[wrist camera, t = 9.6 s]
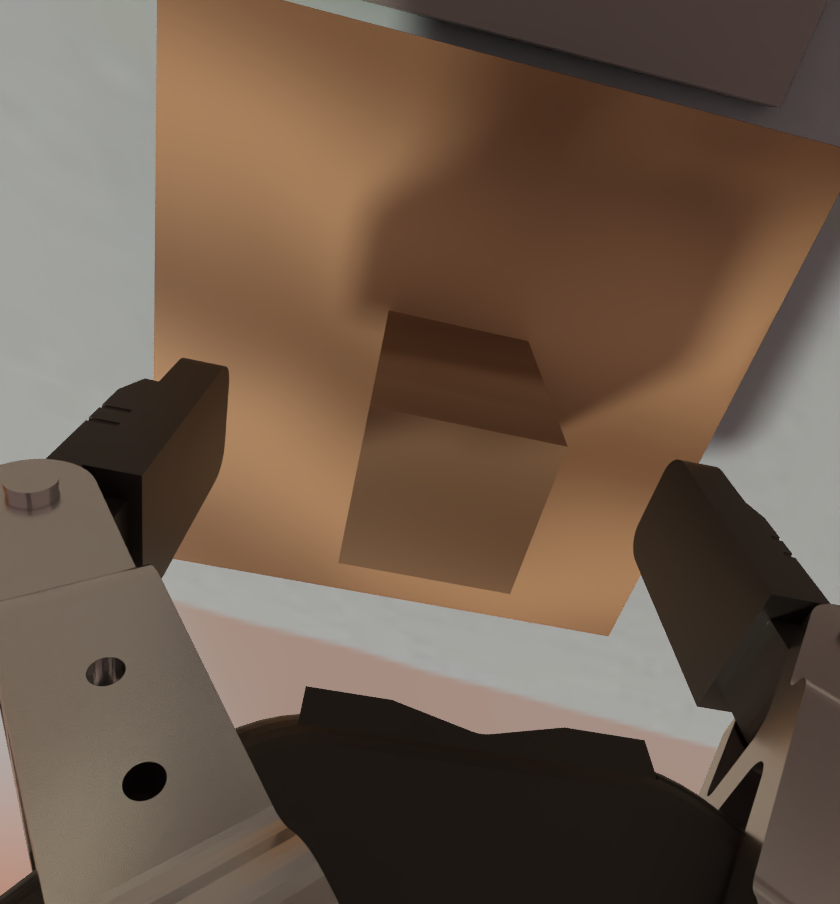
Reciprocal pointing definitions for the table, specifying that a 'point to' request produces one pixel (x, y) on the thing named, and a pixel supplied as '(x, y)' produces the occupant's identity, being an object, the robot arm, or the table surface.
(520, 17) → the mat
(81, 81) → the table surface
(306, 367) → the lid
